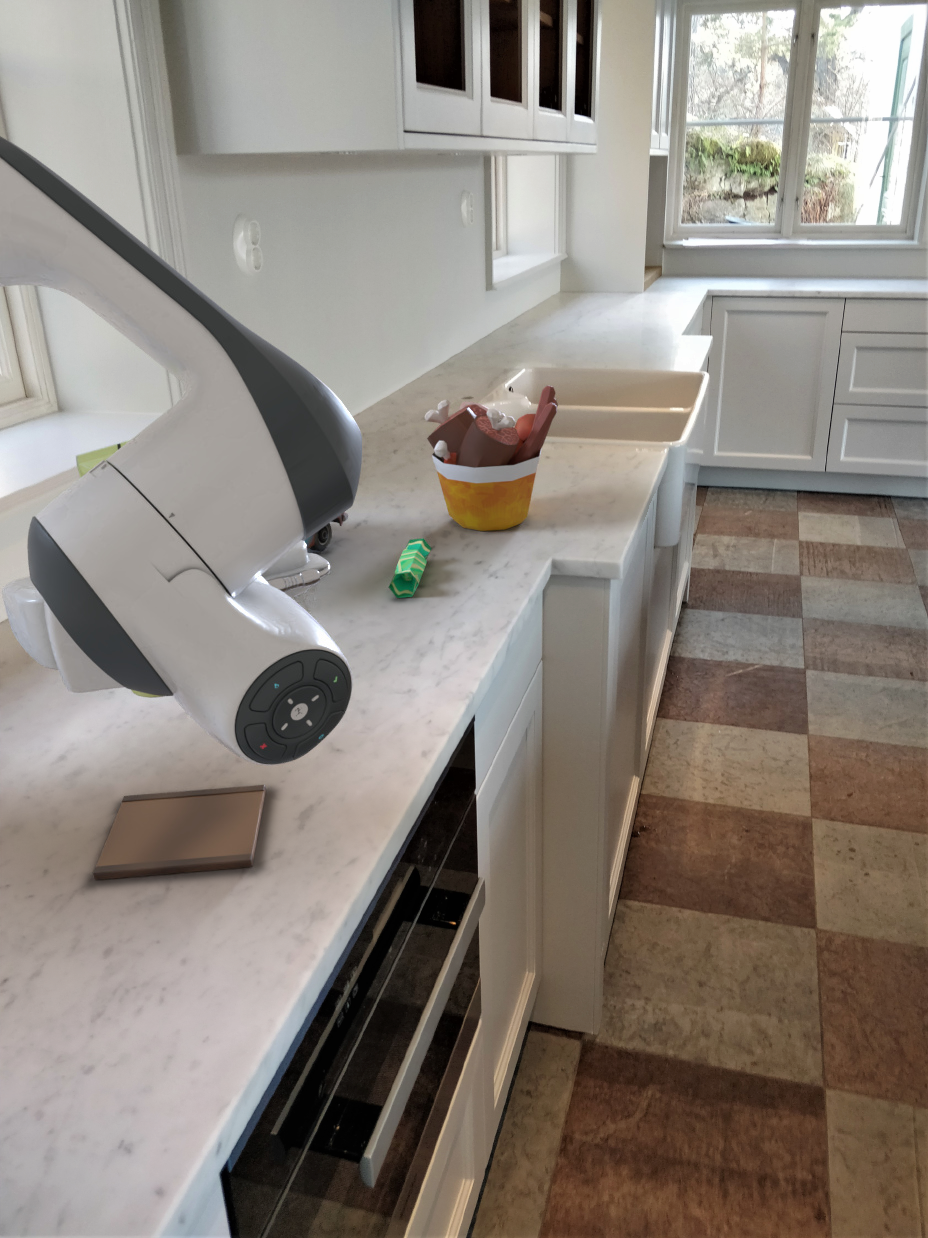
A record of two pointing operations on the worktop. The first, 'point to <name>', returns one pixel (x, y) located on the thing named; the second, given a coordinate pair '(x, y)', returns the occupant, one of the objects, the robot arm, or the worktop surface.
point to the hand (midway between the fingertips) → (134, 551)
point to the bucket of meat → (489, 461)
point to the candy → (410, 568)
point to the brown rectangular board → (183, 832)
